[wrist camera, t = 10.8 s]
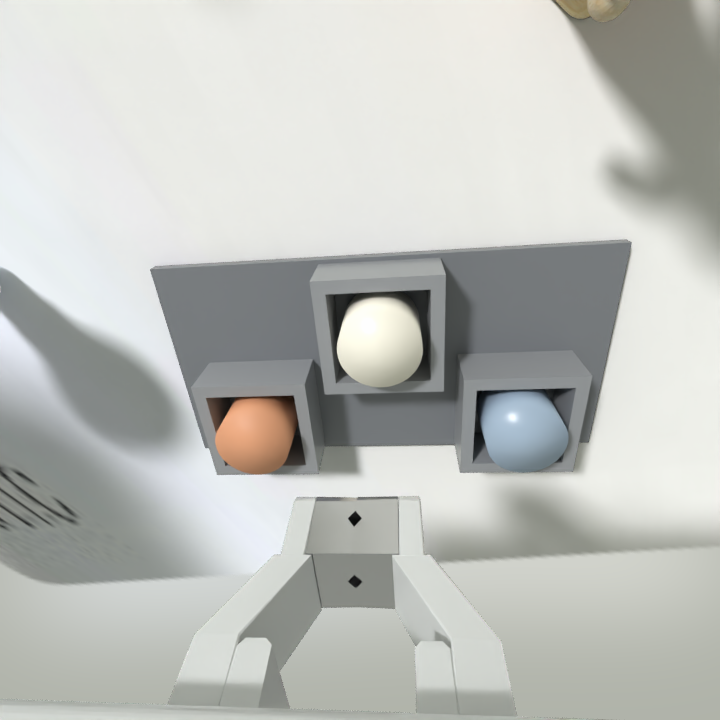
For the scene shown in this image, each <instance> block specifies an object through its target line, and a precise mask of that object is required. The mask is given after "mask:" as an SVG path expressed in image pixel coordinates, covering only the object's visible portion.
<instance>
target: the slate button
mask: <svg viewBox="0 0 720 720" xmlns="http://www.w3.org/2000/svg"><path fill="white" fill-rule="evenodd" d="M477 415H478V418H479V422H480V425H481V429H482V432H483V436H484V439H485V443H486V447H487V450H488V453H489V456H490V457H491V459H492V460H493V461H494V462H495V463H496V464H497V465H498V466H500V467H502V468H504V469H506V470H509V471H513V472H522V473H524V472H533V471H537V470H541V469H543V468H546V467H548V466H550V465H551V464H553V463H554V462H556V461H557V460H558V459H559V458H560V457H561V456H562V454H563V453H564V451H565V450H566V447H567V445H568V439H569V437H568V431H567V429H566V426H565V425H564V423H563V421H562V419H561V417H560V416H559V414H558V412H557V410H556V408H555V407H554V405H553V403H552V401H551V399H550V398H549V396H548V394H547V392H546V390H545V389H518V390H483V391H482V393H481V394H480V396H479V398H478V401H477Z"/></svg>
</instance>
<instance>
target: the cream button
mask: <svg viewBox="0 0 720 720" xmlns="http://www.w3.org/2000/svg"><path fill="white" fill-rule="evenodd" d="M337 355H338V359H339V362H340V364H341V366H342V368H343V369H344V370H345V372H346V373H347V374H348V375H349V376H350V377H351V378H353V379H354V380H356V381H358V382H360V383H362V384H364V385H367V386H371V387H389V386H394V385H397V384H399V383H401V382H403V381H405V380H406V379H408V378H409V377H410V376H411V375H412V374H413V373H414V372H415V371H416V370H417V368H418V366H419V364H420V362H421V359H422V355H423V344H422V336H421V328H420V320H419V314H418V310H417V308H416V306H415V304H414V302H413V301H412V300H411V298H410V297H409V296H408V295H406V294H405V293H404V292H402V291H389V292H368V293H358V294H357V295H355V296H354V297H353V298H352V300H351V301H350V302H349V304H348V306H347V308H346V311H345V314H344V318H343V322H342V326H341V330H340V334H339V338H338V342H337Z"/></svg>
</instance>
